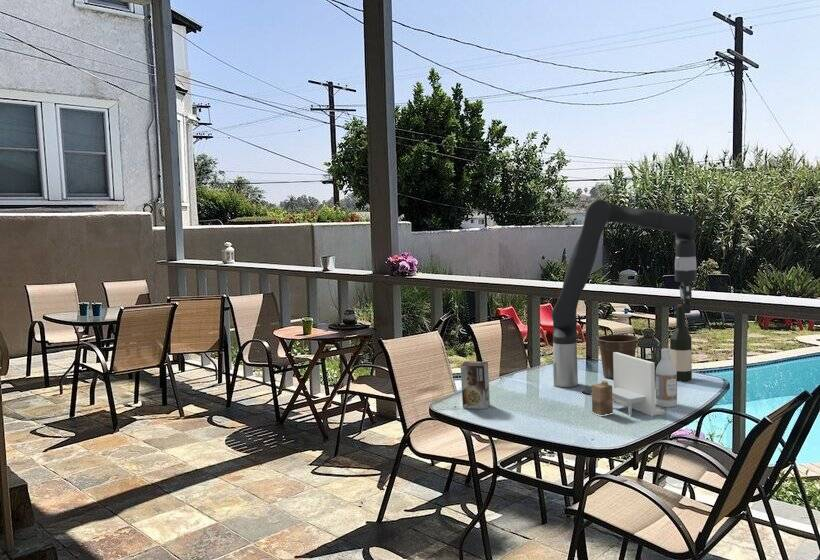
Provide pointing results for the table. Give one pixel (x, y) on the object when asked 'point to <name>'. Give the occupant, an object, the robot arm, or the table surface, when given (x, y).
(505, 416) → the table surface
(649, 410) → the wall shelf
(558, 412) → the table surface
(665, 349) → the bath foam
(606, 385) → the brown tall block
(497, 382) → the table surface
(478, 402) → the coffee box
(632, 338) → the plant pot
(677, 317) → the wine bottle
